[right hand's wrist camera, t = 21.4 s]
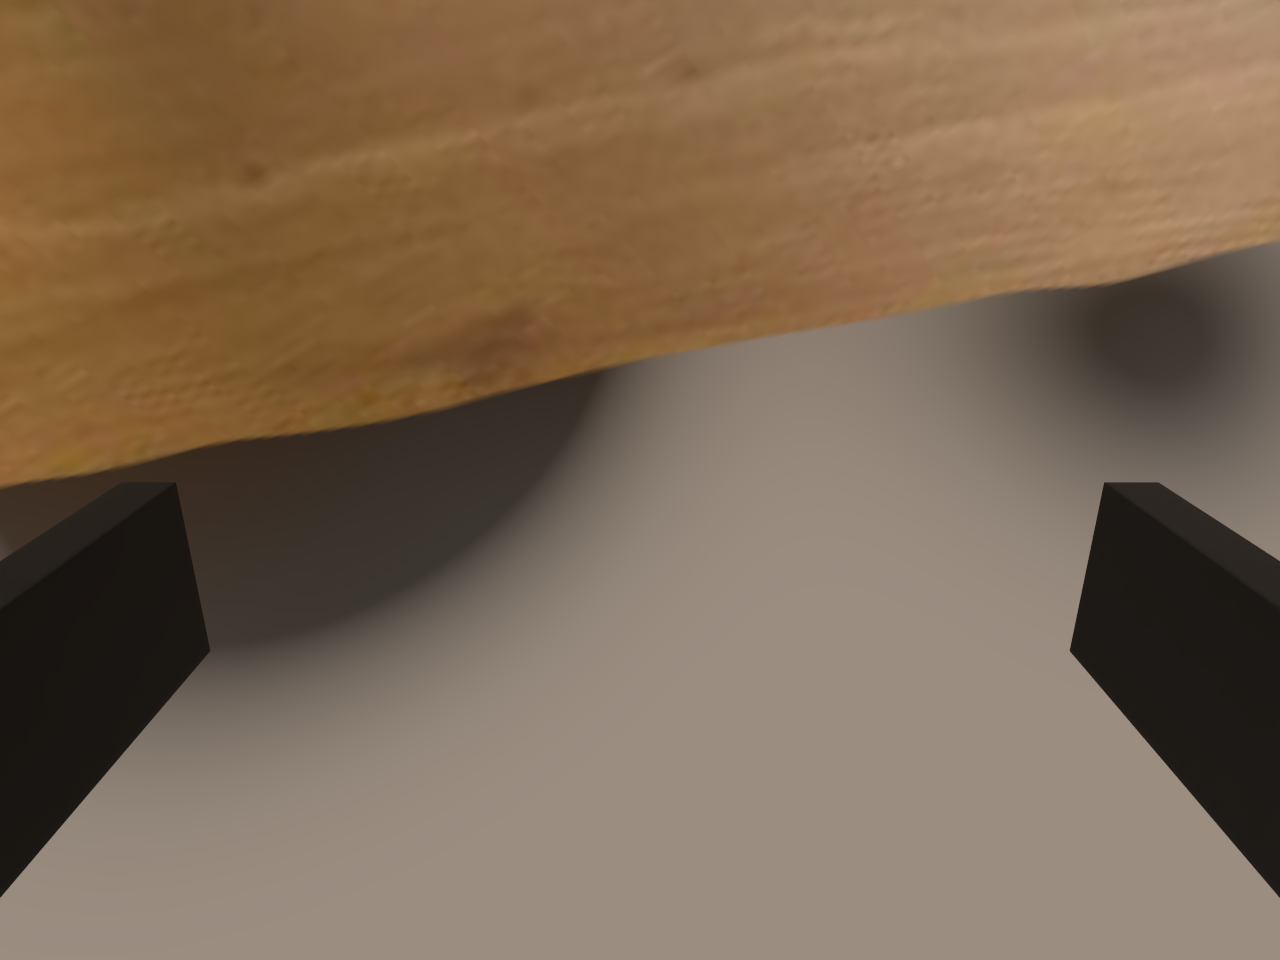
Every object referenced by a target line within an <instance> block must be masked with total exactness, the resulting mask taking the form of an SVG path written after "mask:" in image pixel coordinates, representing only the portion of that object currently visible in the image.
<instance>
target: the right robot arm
mask: <svg viewBox="0 0 1280 960" xmlns="http://www.w3.org/2000/svg"><path fill="white" fill-rule="evenodd" d="M209 652H210V647H209V643H208V638H207V633H206V628H205V623H204V618H203V614H202V608H201V604H200V599H199V594H198V589H197V584H196V579H195V574H194V570H193V565H192V560H191V555H190V550H189V545H188V540H187V535H186V530H185V525H184V521H183V516H182V511H181V506H180V501H179V496H178V491H177V486H176V483H120V484H119V485H117V486H115V487H114V488H112V489H111V490H109V491H108V492H106V493H105V494H103V495H102V496H100V497H98V498H97V499H95V500H94V501H92V502H91V503H89V504H88V505H86V506H85V507H83V508H82V509H80V510H78V511H77V512H75V513H74V514H72V515H71V516H69V517H68V518H66V519H65V520H63V521H62V522H60V523H58V524H57V525H55V526H54V527H52V528H51V529H49V530H48V531H46V532H45V533H43V534H42V535H40V536H38V537H37V538H35V539H34V540H32V541H31V542H29V543H28V544H26V545H24V546H23V547H21V548H20V549H18V550H17V551H15V552H14V553H12V554H11V555H9V556H8V557H6V558H4V559H3V560H1V561H0V897H1V896H2V895H3V894H4V893H5V891H6V890H7V889H8V888H9V887H10V885H11V884H12V883H13V882H14V881H15V880H16V878H17V877H18V876H19V875H20V874H21V873H22V871H23V870H24V869H25V868H26V867H27V866H28V864H29V863H30V862H31V861H32V860H33V859H34V857H35V856H36V855H37V854H38V853H39V851H40V850H41V849H42V848H43V847H44V845H45V844H46V843H47V842H48V841H49V840H50V839H51V837H52V836H53V835H54V834H55V833H56V831H57V830H58V829H59V828H60V827H61V826H62V824H63V823H64V822H65V821H66V820H67V819H68V817H69V816H70V815H71V814H72V813H73V811H74V810H75V809H76V808H77V807H78V806H79V804H80V803H81V802H82V801H83V800H84V799H85V797H86V796H87V795H88V794H89V793H90V791H91V790H92V789H93V788H94V787H95V786H96V784H97V783H98V782H99V781H100V780H101V779H102V777H103V776H104V775H105V774H106V773H107V772H108V770H109V769H110V768H111V767H112V766H113V765H114V763H115V762H116V761H117V760H118V759H119V757H120V756H121V755H122V754H123V753H124V752H125V750H126V749H127V748H128V747H129V746H130V745H131V743H132V742H133V741H134V740H135V739H136V738H137V736H138V735H139V734H140V733H141V732H142V730H143V729H144V728H145V727H146V726H147V725H148V723H149V722H150V721H151V720H152V719H153V718H154V716H155V715H156V714H157V713H158V712H159V710H160V709H161V708H162V707H163V706H164V705H165V703H166V702H167V701H168V700H169V699H170V698H171V696H172V695H173V694H174V693H175V692H176V690H177V689H178V688H179V687H180V686H181V685H182V683H183V682H184V681H185V680H186V679H187V678H188V676H189V675H190V674H191V673H192V672H193V671H194V669H195V668H196V667H197V666H198V665H199V663H200V662H201V661H202V660H203V659H204V658H205V656H206V655H207V654H208V653H209ZM1070 652H1071V653H1072V654H1073V655H1074V656H1075V658H1076V659H1077V660H1078V661H1079V662H1080V663H1081V665H1082V666H1083V667H1084V668H1085V669H1086V670H1087V672H1088V673H1089V674H1090V675H1091V676H1092V678H1093V679H1094V680H1095V681H1096V682H1097V683H1098V685H1099V686H1100V687H1101V688H1102V689H1103V691H1104V692H1105V693H1106V694H1107V695H1108V696H1109V698H1110V699H1111V700H1112V701H1113V702H1114V703H1115V705H1116V706H1117V707H1118V708H1119V709H1120V710H1121V712H1122V713H1123V714H1124V715H1125V716H1126V717H1127V719H1128V720H1129V721H1130V722H1131V723H1132V725H1133V726H1134V727H1135V728H1136V729H1137V730H1138V732H1139V733H1140V734H1141V735H1142V736H1143V738H1144V739H1145V740H1146V741H1147V742H1148V743H1149V745H1150V746H1151V747H1152V748H1153V749H1154V750H1155V752H1156V753H1157V754H1158V755H1159V756H1160V757H1161V759H1162V760H1163V761H1164V762H1165V763H1166V765H1167V766H1168V767H1169V768H1170V769H1171V770H1172V771H1173V773H1174V774H1175V775H1176V776H1177V777H1178V779H1179V780H1180V781H1181V782H1182V783H1183V784H1184V786H1185V787H1186V788H1187V789H1188V790H1189V792H1190V793H1191V794H1192V795H1193V796H1194V797H1195V799H1196V800H1197V801H1198V802H1199V803H1200V804H1201V806H1202V807H1203V808H1204V809H1205V810H1206V811H1207V813H1208V814H1209V815H1210V816H1211V817H1212V819H1213V820H1214V821H1215V822H1216V823H1217V824H1218V826H1219V827H1220V828H1221V829H1222V830H1223V832H1224V833H1225V834H1226V835H1227V836H1228V837H1229V839H1230V840H1231V841H1232V842H1233V843H1234V844H1235V846H1236V847H1237V848H1238V849H1239V850H1240V851H1241V853H1242V854H1243V855H1244V856H1245V857H1246V858H1247V860H1248V861H1249V862H1250V863H1251V864H1252V866H1253V867H1254V868H1255V869H1256V870H1257V871H1258V873H1259V874H1260V875H1261V876H1262V877H1263V879H1264V880H1265V881H1266V882H1267V883H1268V884H1269V886H1270V887H1271V888H1272V889H1273V890H1274V891H1275V893H1276V894H1277V895H1278V896H1279V897H1280V561H1279V560H1277V559H1276V558H1274V557H1272V556H1271V555H1269V554H1268V553H1266V552H1265V551H1263V550H1262V549H1260V548H1259V547H1257V546H1255V545H1254V544H1252V543H1251V542H1249V541H1248V540H1246V539H1245V538H1243V537H1242V536H1240V535H1239V534H1237V533H1235V532H1234V531H1232V530H1231V529H1229V528H1228V527H1226V526H1225V525H1223V524H1222V523H1220V522H1219V521H1217V520H1215V519H1214V518H1212V517H1211V516H1209V515H1208V514H1206V513H1205V512H1203V511H1201V510H1200V509H1199V508H1197V507H1195V506H1194V505H1192V504H1191V503H1189V502H1188V501H1186V500H1185V499H1183V498H1182V497H1180V496H1178V495H1177V494H1175V493H1174V492H1172V491H1171V490H1169V489H1168V488H1166V487H1165V486H1163V485H1162V484H1160V483H1104V486H1103V491H1102V496H1101V501H1100V506H1099V511H1098V516H1097V521H1096V525H1095V530H1094V535H1093V540H1092V545H1091V550H1090V555H1089V560H1088V565H1087V569H1086V574H1085V579H1084V584H1083V589H1082V594H1081V599H1080V603H1079V609H1078V613H1077V618H1076V623H1075V628H1074V633H1073V638H1072V643H1071V647H1070Z"/></svg>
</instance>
